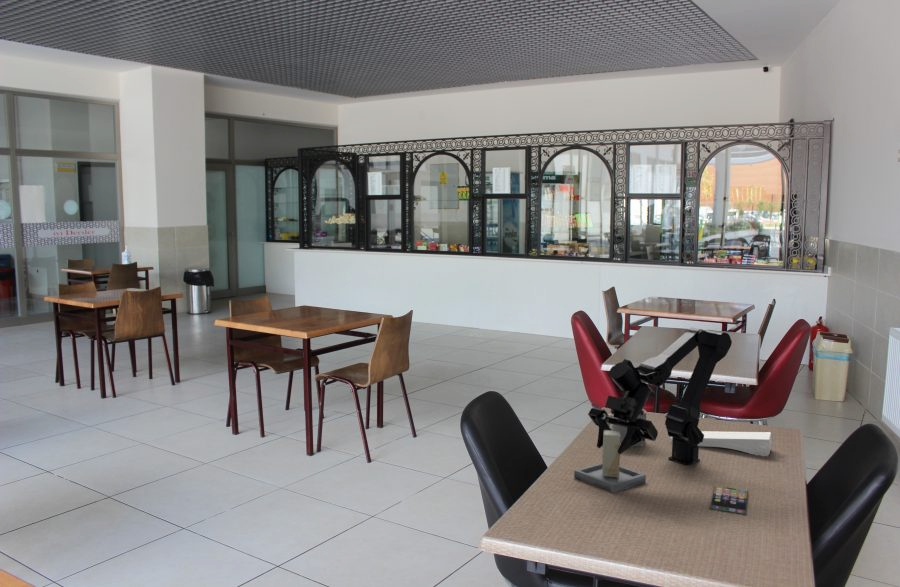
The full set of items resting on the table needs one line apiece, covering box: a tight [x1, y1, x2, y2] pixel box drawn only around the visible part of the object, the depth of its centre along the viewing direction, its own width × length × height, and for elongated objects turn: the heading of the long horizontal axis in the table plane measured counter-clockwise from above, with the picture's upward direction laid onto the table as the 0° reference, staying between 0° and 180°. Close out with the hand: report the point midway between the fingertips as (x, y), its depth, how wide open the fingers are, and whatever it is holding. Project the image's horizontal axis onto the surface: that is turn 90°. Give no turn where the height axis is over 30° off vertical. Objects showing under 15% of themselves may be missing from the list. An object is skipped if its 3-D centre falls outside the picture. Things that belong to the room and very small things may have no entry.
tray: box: [573, 461, 647, 494], centre depth 189 cm, size 13×13×2 cm
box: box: [602, 430, 621, 477], centre depth 188 cm, size 5×4×11 cm
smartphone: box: [709, 485, 749, 516], centre depth 176 cm, size 8×15×1 cm, turn 156°
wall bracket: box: [670, 430, 773, 457], centre depth 220 cm, size 10×7×28 cm
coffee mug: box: [607, 408, 647, 447], centre depth 222 cm, size 13×10×10 cm
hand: (608, 450), depth 187 cm, fingers closed on box, 6 cm apart
